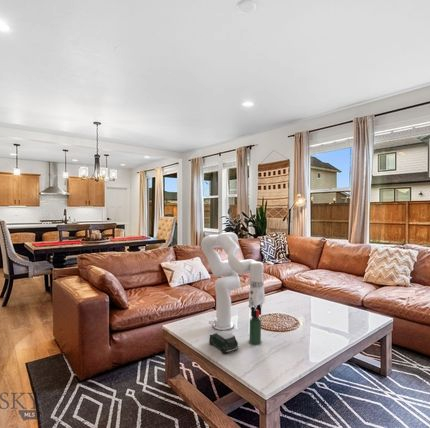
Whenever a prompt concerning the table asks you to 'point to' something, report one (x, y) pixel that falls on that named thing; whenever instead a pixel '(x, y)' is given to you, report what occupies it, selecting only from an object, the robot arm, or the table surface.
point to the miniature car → (224, 341)
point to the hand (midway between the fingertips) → (256, 315)
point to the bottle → (255, 330)
